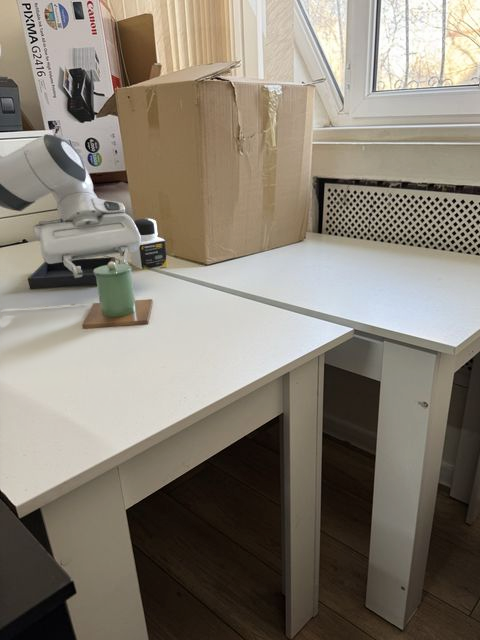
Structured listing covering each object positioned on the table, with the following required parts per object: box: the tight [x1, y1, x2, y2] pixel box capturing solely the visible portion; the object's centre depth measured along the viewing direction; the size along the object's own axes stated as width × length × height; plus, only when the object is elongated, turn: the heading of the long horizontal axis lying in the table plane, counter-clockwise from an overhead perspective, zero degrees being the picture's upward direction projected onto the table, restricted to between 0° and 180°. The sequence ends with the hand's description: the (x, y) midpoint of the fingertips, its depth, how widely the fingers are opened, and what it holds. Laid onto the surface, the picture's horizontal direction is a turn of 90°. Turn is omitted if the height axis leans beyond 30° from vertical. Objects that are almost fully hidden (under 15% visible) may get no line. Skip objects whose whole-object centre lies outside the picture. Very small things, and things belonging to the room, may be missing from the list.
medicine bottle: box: [129, 218, 168, 270], centre depth 130 cm, size 7×7×12 cm
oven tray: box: [27, 256, 116, 290], centre depth 123 cm, size 17×15×3 cm
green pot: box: [93, 261, 136, 317], centre depth 98 cm, size 7×7×10 cm
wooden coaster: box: [81, 298, 154, 329], centre depth 100 cm, size 12×12×1 cm
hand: (102, 272), depth 104 cm, fingers open, 8 cm apart
